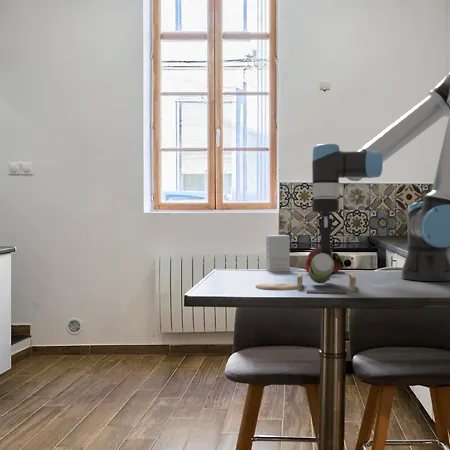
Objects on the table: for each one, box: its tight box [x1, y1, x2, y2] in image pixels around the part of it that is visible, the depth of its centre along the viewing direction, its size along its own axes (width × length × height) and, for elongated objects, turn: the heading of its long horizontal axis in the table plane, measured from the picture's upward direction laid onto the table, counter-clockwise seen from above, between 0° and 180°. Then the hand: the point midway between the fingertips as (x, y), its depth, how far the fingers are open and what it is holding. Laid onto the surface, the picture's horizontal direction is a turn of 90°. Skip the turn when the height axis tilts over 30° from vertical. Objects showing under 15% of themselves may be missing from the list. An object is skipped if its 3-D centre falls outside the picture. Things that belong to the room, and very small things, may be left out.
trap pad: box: [306, 289, 348, 295], centre depth 149 cm, size 10×4×1 cm, turn 81°
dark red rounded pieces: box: [304, 246, 345, 274], centre depth 196 cm, size 12×12×15 cm
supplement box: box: [265, 234, 291, 273], centre depth 206 cm, size 7×7×13 cm
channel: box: [296, 271, 357, 292], centre depth 159 cm, size 15×12×4 cm
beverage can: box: [308, 253, 334, 284], centre depth 162 cm, size 6×7×12 cm
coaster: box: [255, 283, 297, 291], centre depth 160 cm, size 12×12×1 cm
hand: (325, 279), depth 169 cm, fingers open, 5 cm apart
